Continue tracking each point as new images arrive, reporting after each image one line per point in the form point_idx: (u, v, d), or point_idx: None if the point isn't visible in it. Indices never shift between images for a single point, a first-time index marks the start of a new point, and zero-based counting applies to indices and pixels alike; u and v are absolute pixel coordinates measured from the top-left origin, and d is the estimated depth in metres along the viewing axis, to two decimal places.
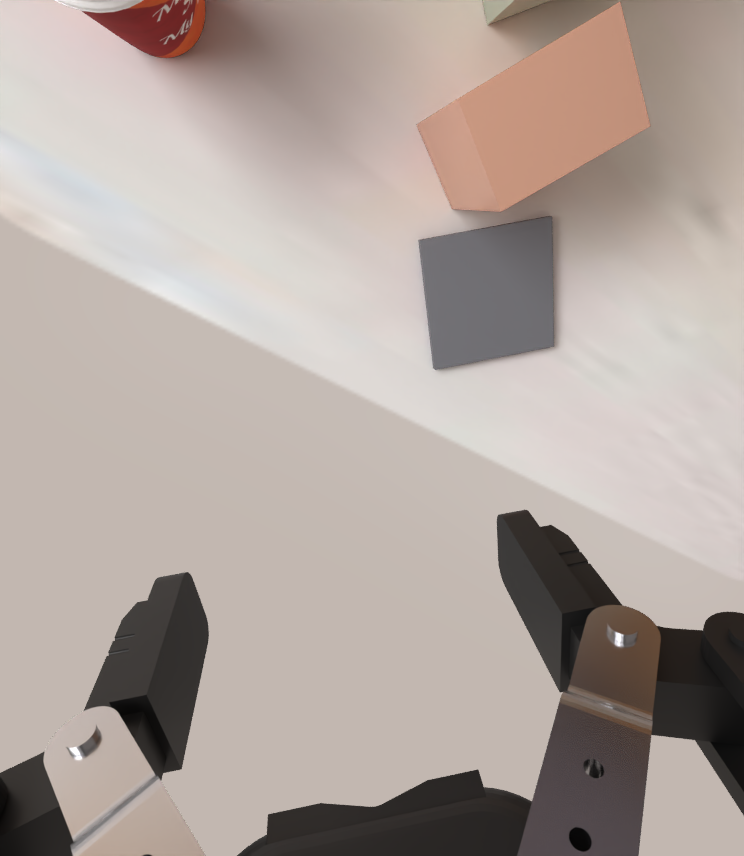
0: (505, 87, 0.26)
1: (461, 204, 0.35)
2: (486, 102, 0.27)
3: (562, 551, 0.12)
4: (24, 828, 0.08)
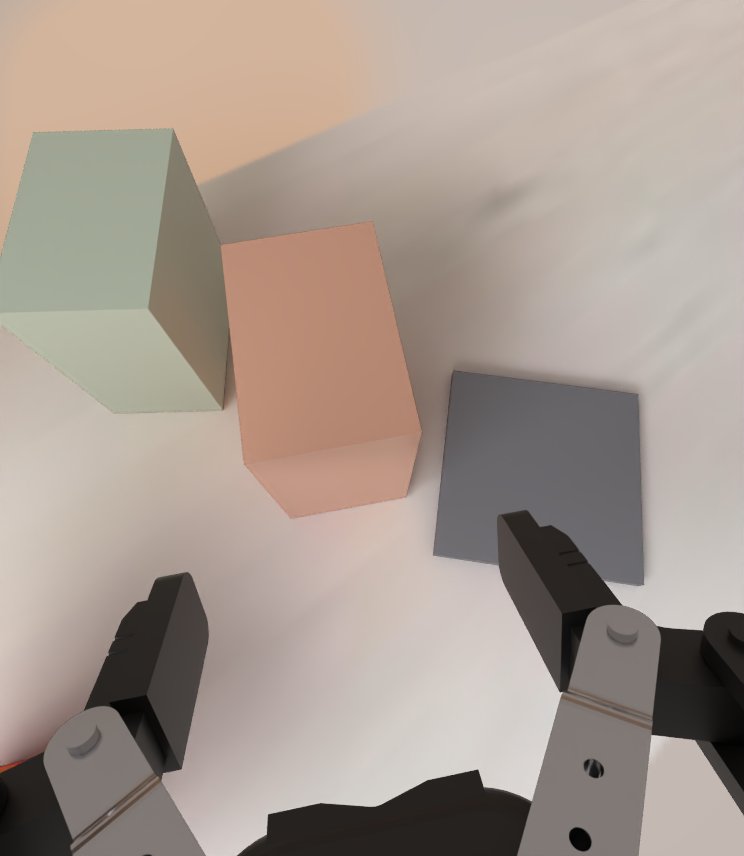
0: (256, 394, 0.18)
1: (401, 485, 0.24)
2: (265, 423, 0.18)
3: (562, 551, 0.12)
4: (24, 828, 0.08)
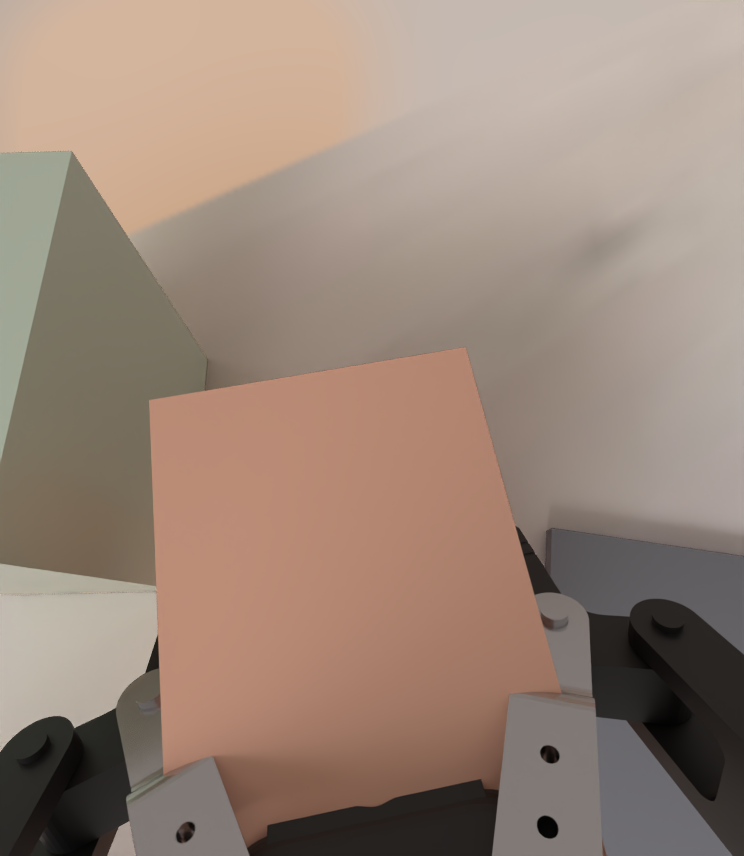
0: None
1: None
2: None
3: None
4: (93, 789, 0.09)
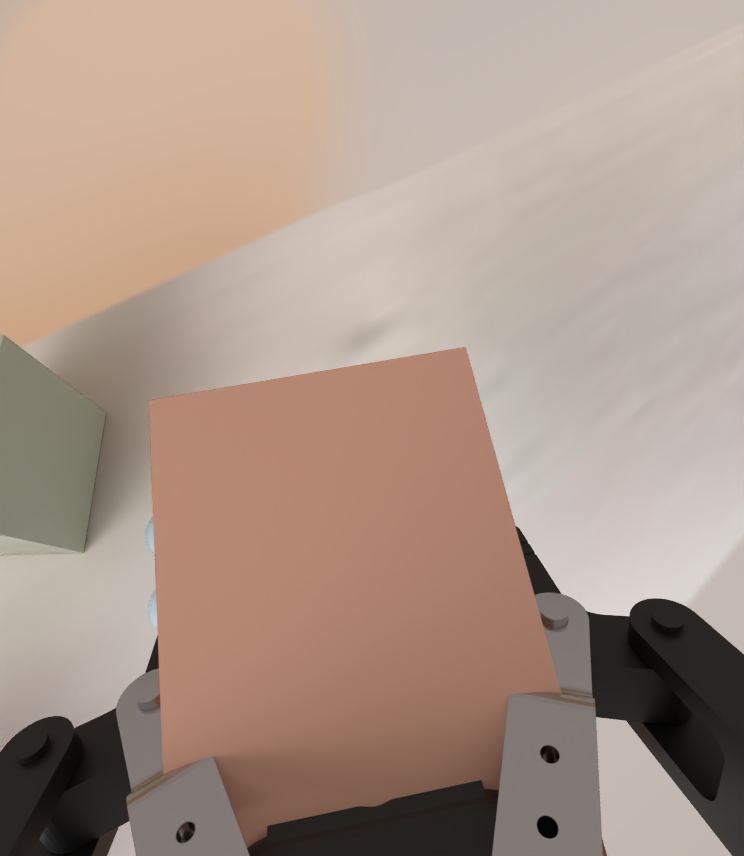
0: None
1: None
2: None
3: None
4: (93, 789, 0.09)
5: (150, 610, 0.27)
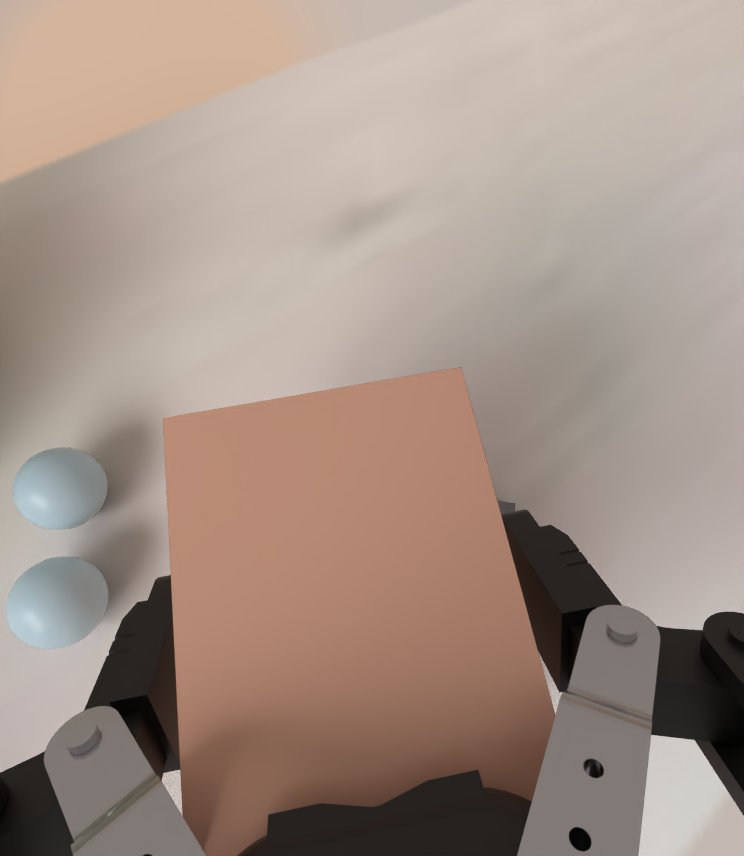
0: (227, 802, 0.08)
1: None
2: None
3: (562, 551, 0.12)
4: (24, 828, 0.08)
5: (6, 609, 0.17)
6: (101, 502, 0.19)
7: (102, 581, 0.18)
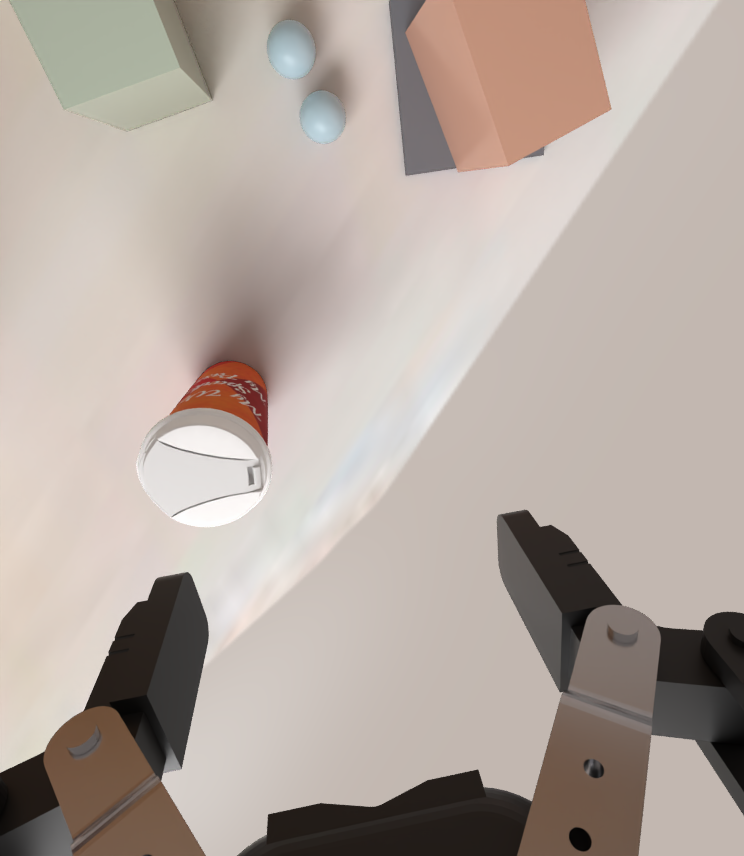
0: (504, 112, 0.27)
1: None
2: (514, 133, 0.27)
3: (562, 551, 0.12)
4: (24, 828, 0.08)
5: (308, 125, 0.33)
6: None
7: None
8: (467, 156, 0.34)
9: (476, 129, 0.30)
